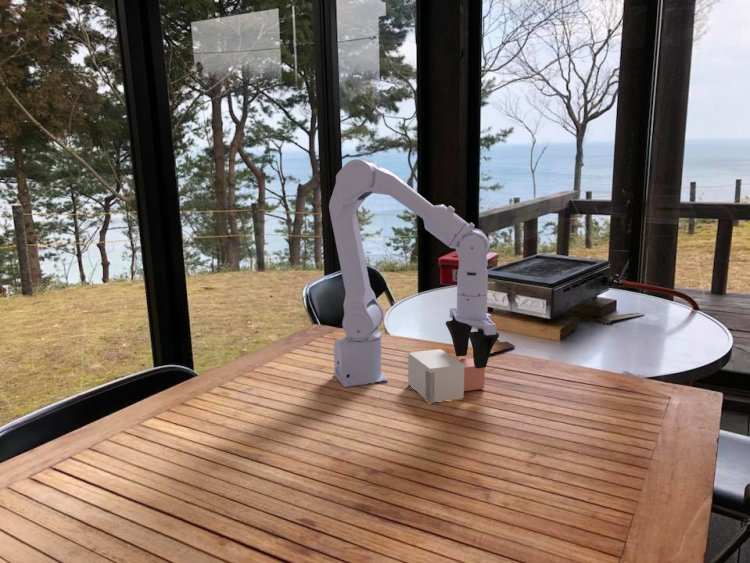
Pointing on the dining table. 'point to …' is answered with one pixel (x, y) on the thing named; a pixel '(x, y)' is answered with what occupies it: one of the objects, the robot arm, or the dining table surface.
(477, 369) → the pink cuboid
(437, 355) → the off-white grooved box
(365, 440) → the dining table surface
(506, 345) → the parchment
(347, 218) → the robot arm
